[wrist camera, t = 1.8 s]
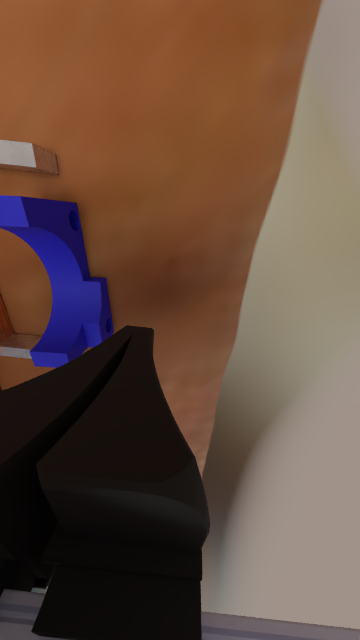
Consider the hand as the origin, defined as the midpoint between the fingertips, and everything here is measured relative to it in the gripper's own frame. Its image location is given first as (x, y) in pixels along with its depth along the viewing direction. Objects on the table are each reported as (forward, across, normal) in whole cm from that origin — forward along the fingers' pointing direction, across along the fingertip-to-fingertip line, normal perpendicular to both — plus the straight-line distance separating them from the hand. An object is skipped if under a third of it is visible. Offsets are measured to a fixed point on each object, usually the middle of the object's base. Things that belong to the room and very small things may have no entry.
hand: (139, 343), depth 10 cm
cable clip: (+10, +8, 0) cm, 13 cm away
